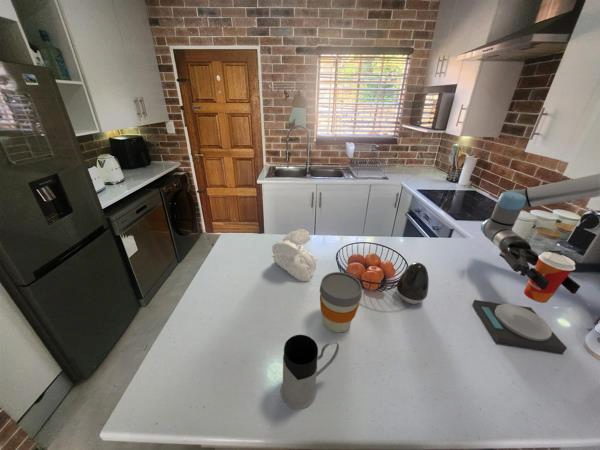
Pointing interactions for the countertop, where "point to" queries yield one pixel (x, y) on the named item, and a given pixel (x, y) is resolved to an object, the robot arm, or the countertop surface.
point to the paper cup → (549, 275)
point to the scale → (517, 326)
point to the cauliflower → (295, 255)
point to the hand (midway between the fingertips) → (560, 287)
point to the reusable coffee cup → (339, 300)
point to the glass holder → (302, 370)
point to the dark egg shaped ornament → (413, 283)
